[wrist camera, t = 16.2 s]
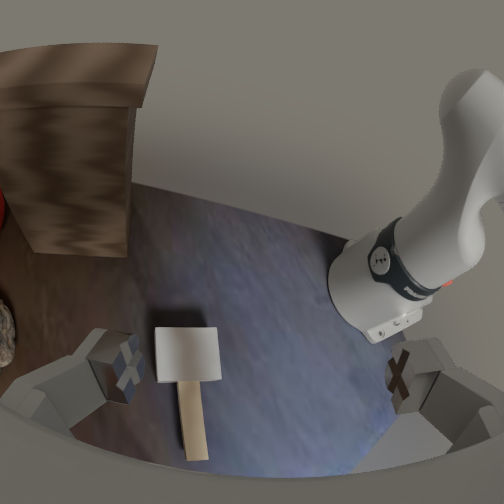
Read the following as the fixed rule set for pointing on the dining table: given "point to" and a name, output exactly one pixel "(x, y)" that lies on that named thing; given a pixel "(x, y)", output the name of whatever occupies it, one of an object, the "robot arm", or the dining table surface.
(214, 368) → the mallet
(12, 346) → the clay tablet
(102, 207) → the walnut stand
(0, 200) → the tomato
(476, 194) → the robot arm
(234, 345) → the dining table surface
